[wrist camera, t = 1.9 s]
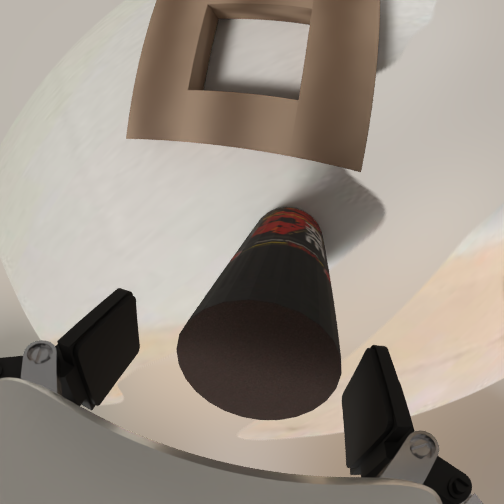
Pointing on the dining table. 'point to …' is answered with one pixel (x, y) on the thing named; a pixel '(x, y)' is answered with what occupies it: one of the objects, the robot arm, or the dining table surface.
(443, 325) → the dining table surface
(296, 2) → the socket board
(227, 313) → the deodorant
